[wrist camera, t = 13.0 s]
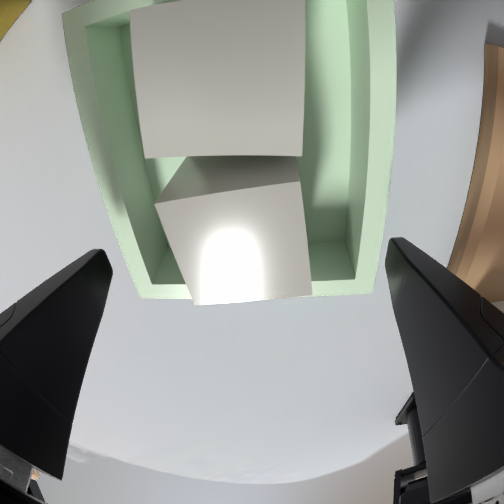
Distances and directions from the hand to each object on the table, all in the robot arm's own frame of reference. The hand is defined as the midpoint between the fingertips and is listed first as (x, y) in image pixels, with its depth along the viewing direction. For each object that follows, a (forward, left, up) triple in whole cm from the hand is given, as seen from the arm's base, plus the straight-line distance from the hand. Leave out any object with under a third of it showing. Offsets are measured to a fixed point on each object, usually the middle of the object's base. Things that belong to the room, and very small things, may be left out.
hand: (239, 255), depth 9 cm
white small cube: (0, 0, -4) cm, 4 cm away
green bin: (+3, 0, -4) cm, 5 cm away
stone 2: (+5, 0, -4) cm, 6 cm away
